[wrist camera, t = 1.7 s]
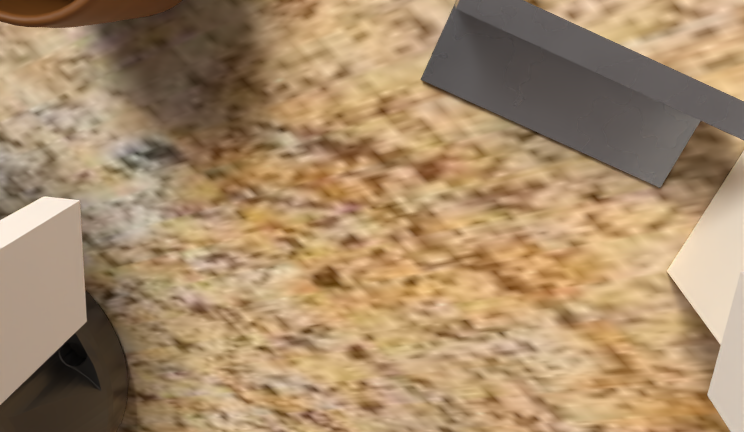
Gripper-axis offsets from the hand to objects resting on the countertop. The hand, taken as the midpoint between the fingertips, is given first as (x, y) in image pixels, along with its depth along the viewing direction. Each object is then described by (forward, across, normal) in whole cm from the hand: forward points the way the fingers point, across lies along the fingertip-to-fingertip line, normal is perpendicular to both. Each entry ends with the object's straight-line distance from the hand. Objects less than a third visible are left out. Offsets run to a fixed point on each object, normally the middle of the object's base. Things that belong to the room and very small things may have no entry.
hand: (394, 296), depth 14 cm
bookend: (+20, +6, +2) cm, 21 cm away
